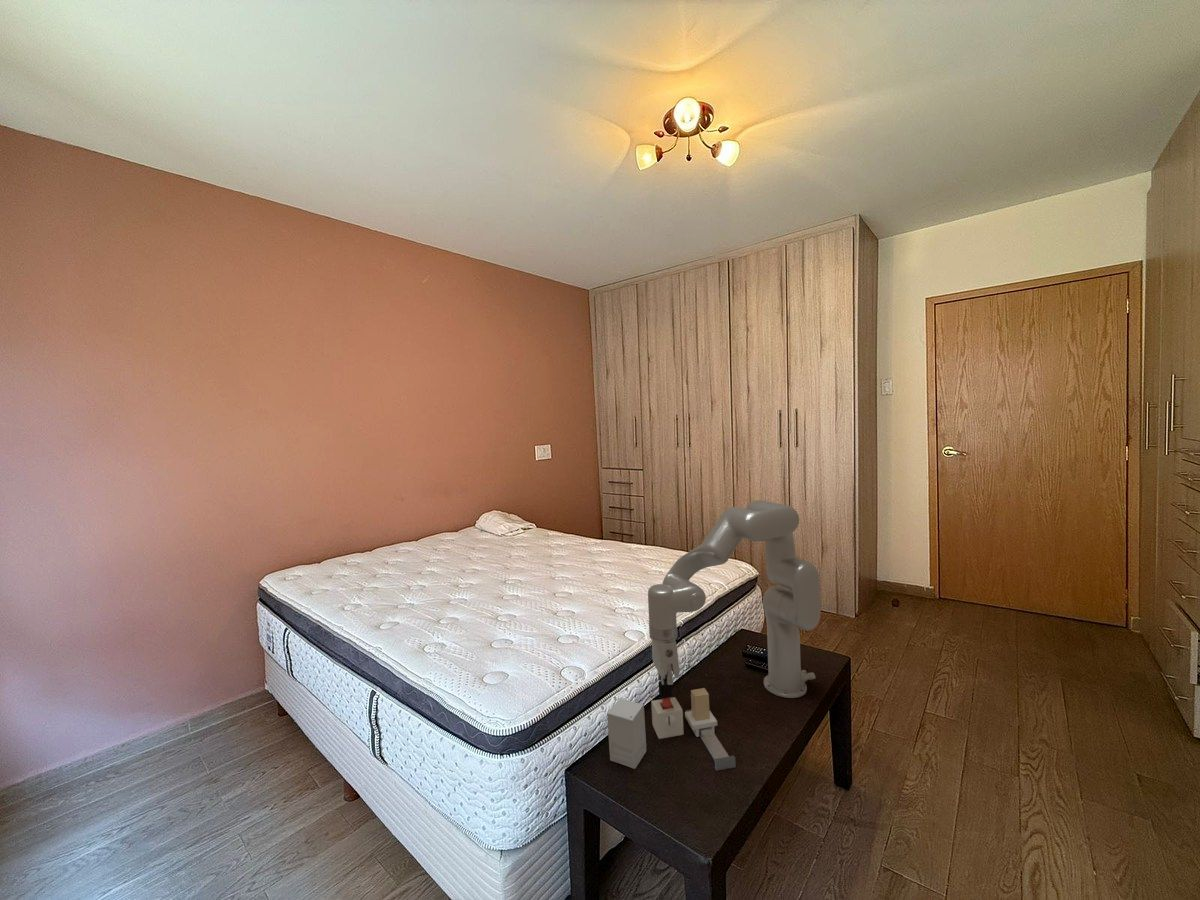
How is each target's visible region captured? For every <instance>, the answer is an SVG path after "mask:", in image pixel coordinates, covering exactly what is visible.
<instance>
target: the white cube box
mask: <svg viewBox="0 0 1200 900" xmlns="http://www.w3.org/2000/svg"><path fill="white" fill-rule="evenodd" d="M670 701H671V708H670V709H664V710H663V702H662V698H660V699H655V700H651V701H650V702H651V720H652V722H651V723H652V724H651V725H652V726H653V730H654V731H655V733H656V736H657V738H658V740H660V739H661V740H663V739H667V738H672V737H676V736H682V735H684V732H685V731H684V711H683V708H682V706H681V705H680V703H679V701H678V700H677V698H676V697H675V696H674V697H673V696H672V697H670Z"/></svg>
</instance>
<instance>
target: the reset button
mask: <svg viewBox="0 0 1200 900" xmlns="http://www.w3.org/2000/svg"><path fill="white" fill-rule="evenodd" d="M670 698H671V697H668V698H661V699H662V702H663V710H664V709H670V708H671V701H670Z"/></svg>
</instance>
